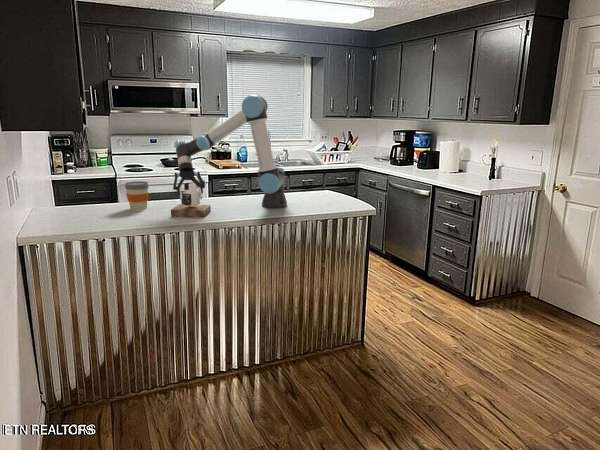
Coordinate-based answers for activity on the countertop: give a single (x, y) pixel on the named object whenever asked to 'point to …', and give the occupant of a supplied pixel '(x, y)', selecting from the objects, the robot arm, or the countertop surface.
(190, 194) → the medicine bottle
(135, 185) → the reusable coffee cup
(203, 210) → the block
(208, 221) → the countertop surface
